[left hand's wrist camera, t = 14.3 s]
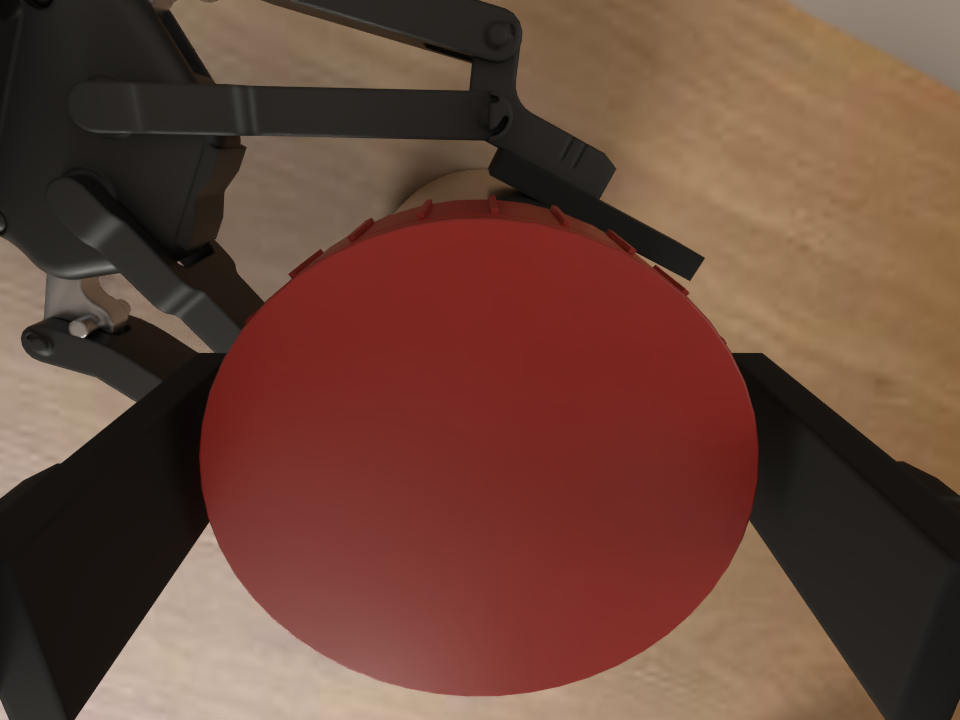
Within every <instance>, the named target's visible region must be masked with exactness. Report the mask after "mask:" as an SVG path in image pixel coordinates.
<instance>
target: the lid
mask: <svg viewBox="0 0 960 720" xmlns="http://www.w3.org/2000/svg"><path fill="white" fill-rule="evenodd" d="M636 251H637V250H635V249H634V248H633V247H632V246H631V245H629V244H628V243H627V242H626V241H624V240H623V239H622V238H621V237H619V236H618V235H617V234H616V233H614V232H613V231H611V230H610V229H608V231H607V232H606V233H605V232H603V231H601V230H599V229H598V228H596V227H594V226H593V225H590V224H588V223H586V222H583V221H581V220H578V219H576V218H573V217H571V216H569V215H566V214H564V213H563V212H562V211H561V210H560V209H559V208H558V207H557V206H554V205H552V206H551V209H546V208H542V207H539V206H535V205H531V204H527V203H519V202H510V201H501V200H496V197H495V195H489V199H486V200H454V201H447V202H441V203H434V204H433V203H432V199H429V200H426V201H425V202H424V204H423V205H422V206H419V207H415V208H412V209H409V210H405V211H402V212H398V213H395V214H392V215H389V216H387V217H384V218H382V219H380V220H378V221H376V222H374V221H373V219H372V218H370V219H368V220H366V221H365V222H364V223H363V224H362V225H360V226H359V227H358V228H357V229H356V230H354V231H353V232H352V233H351V234H350V235H348V236H347V237H346V238H344V239H342V240H341V241H339V242H338V243H336V244H335V245H333V246H331V247H330V248H329V249H328V250H326V251H325V252H323V251H322V250H321V249H320V250H319V251H317V252H316V253H315V254H313V255H312V256H311V257H310V258H308V259H307V260H306V261H305V262H303V263H302V264H301V265H299V266H298V267H297V268H296V269H294V270H293V271H292V272H291V273H289V276H290V277H291V278H292V279H291V280H290V281H289V282H288V283H287V284H285V285H284V286H283V287H282V288H281V289H280V290H278V291H277V292H276V293H275V294H274V295H273V296H272V297H270V298H269V299H268V300H267V301H266V302H265V303H264V304H263V305H262V307H260V308H259V309H258V310H257V311H256V312H254V313H253V314H252V315H251V316H249V317H248V318H247V320H246V321H245V323H246V325H245V326H244V327H243V329H242V330H241V332H240V333H239V335H238V336H237V338H236V340H235V341H234V343H233V344H232V346H231V348H230V349H229V351H228V353H227V354H226V356H225V357H224V359H223V361H222V363H221V366H220V368H219V370H218V373H217V375H216V378H215V380H214V382H213V385H212V387H211V389H210V392H209V396H208V400H207V404H206V409H205V413H204V417H203V421H202V427H201V440H200V452H199V462H200V475H201V488H202V493H203V497H204V501H205V506H206V510H207V514H208V519H209V521H210V524H211V526H212V529H213V531H214V534H215V537H216V539H217V542H218V544H219V547H220V549H221V550H222V552H223V554H224V556H225V558H226V559H227V561H228V563H229V565H230V567H231V568H232V570H233V572H234V574H235V575H236V576H237V578H238V579H239V580H240V582H241V583H242V584H243V586H244V587H245V588H246V590H247V591H248V592H249V594H250V595H251V596H252V598H253V599H254V600H255V601H256V602H257V603H258V604H259V605H260V606H261V607H262V608H263V609H264V610H265V611H266V612H267V613H268V614H269V616H270V617H271V618H272V619H273V620H275V621H276V622H277V623H278V624H279V625H281V626H282V627H283V628H284V629H285V630H287V631H288V632H289V633H290V634H292V635H293V636H294V637H295V638H296V639H298V640H299V641H301V642H302V643H304V644H305V645H307V646H309V647H310V648H312V649H313V650H315V651H316V652H318V653H319V654H321V655H322V656H324V657H326V658H328V659H330V660H332V661H334V662H336V663H338V664H340V665H342V666H344V667H346V668H348V669H350V670H353V671H355V672H358V673H360V674H363V675H365V676H368V677H371V678H373V679H376V680H378V681H382V682H386V683H389V684H393V685H396V686H400V687H404V688H407V689H413V690H418V691H424V692H430V693H435V694H445V695H457V696H503V695H513V694H522V693H530V692H535V691H540V690H545V689H550V688H555V687H560V686H563V685H566V684H569V683H573V682H576V681H579V680H582V679H586V678H589V677H591V676H594V675H596V674H598V673H601V672H603V671H605V670H608V669H610V668H613V667H615V666H617V665H619V664H621V663H623V662H625V661H626V660H628V659H630V658H632V657H634V656H635V655H637V654H639V653H641V652H643V651H644V650H646V649H647V648H649V647H650V646H652V645H653V644H654V643H656V642H657V641H659V640H660V639H662V638H663V637H664V636H666V635H667V634H669V633H670V632H671V631H672V630H673V629H674V628H676V627H677V626H678V625H679V624H680V623H681V622H682V621H683V620H685V619H686V618H687V617H688V616H689V615H690V614H691V613H692V612H693V611H694V610H695V609H696V608H697V607H698V606H699V604H700V603H701V602H702V601H703V600H704V599H705V598H706V597H707V595H708V594H709V593H710V592H711V591H712V590H713V588H714V587H715V585H716V584H717V582H718V581H719V579H720V578H721V576H722V575H723V574H724V572H725V571H726V569H727V568H728V566H729V564H730V562H731V560H732V559H733V557H734V555H735V553H736V551H737V549H738V547H739V545H740V543H741V541H742V539H743V536H744V533H745V530H746V527H747V524H748V521H749V518H750V515H751V512H752V509H753V504H754V498H755V493H756V487H757V482H758V462H759V444H758V436H757V428H756V420H755V414H754V410H753V407H752V403H751V400H750V397H749V393H748V390H747V386H746V383H745V381H744V379H743V376H742V374H741V372H740V370H739V368H738V366H737V364H736V362H735V360H734V358H733V355H732V353H731V351H730V350H729V348H728V347H727V345H726V344H727V343H726V342H725V340H724V339H723V338H722V337H721V336H720V335H719V334H718V332H717V331H716V329H715V328H714V326H713V325H712V323H711V322H710V321H709V320H708V319H707V317H706V316H705V315H704V314H703V313H702V312H701V311H700V310H699V309H698V308H697V307H696V306H695V305H694V304H693V303H692V301H691V300H690V299H689V298H688V297H687V295H688V294H689V292H688V291H687V290H686V289H685V288H684V287H683V286H681V285H680V284H679V283H678V282H676V281H675V280H674V279H673V278H671V277H670V276H669V275H668V274H666V273H665V272H664V271H663V270H661V269H660V268H659V267H658V266H656V265H655V266H654V267H651V266H650V265H649V264H648V263H646V262H645V261H644V260H643V259H641V258H640V257H639V256H638V255H636V254H635V252H636Z"/></svg>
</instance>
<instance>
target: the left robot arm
mask: <svg viewBox="0 0 960 720" xmlns="http://www.w3.org/2000/svg"><path fill="white" fill-rule="evenodd" d="M226 354H227V353H197V354H196V355H195V356H194V357H192V358H191V359H190V360H189V361H187V362H186V363H185V364H184V365H182V366H181V367H180V368H179V369H177V370H176V371H175V372H174V373H172V374H171V375H170V376H169V377H168V378H166V379H165V380H164V381H163V382H161V383H160V384H159V385H158V386H156V387H155V388H154V389H153V390H151V391H150V392H149V393H148V394H147V395H145V396H144V397H143V398H142V399H140V400H139V401H138V402H137V403H135V404H134V405H133V406H132V407H130V408H129V409H128V410H127V411H125V412H124V413H123V414H122V415H121V416H119V417H118V418H117V419H116V420H114V421H113V422H112V423H111V424H109V425H108V426H107V427H106V428H104V429H103V430H102V431H101V432H100V433H98V434H97V435H96V436H95V437H93V438H92V439H91V440H90V441H88V442H87V443H86V444H85V445H83V446H82V447H81V448H80V449H78V450H77V451H76V452H75V453H74V454H72V455H71V456H70V457H69V458H67V459H66V460H65V461H64V462H62V463H61V464H55V465H53V466H51V467H49V468H47V469H45V470H43V471H41V472H39V473H37V474H35V475H33V476H31V477H29V478H27V479H25V480H23V481H22V482H21V483H20V484H18V485H17V486H16V487H15V488H13V489H12V490H11V491H9V492H8V493H7V494H6V495H4V496H3V497H2V498H0V699H1V702H2V704H3V706H4V709H5V711H6V714H7V716H8V718H9V720H75V718H76V717H77V715H78V714H79V712H80V711H81V709H82V708H83V707H84V705H85V704H86V702H87V701H88V699H89V698H90V696H91V695H92V693H93V692H94V690H95V689H96V687H97V686H98V685H99V683H100V682H101V680H102V679H103V677H104V676H105V674H106V673H107V671H108V670H109V668H110V667H111V665H112V664H113V663H114V661H115V660H116V658H117V657H118V655H119V654H120V652H121V651H122V649H123V648H124V646H125V645H126V643H127V642H128V641H129V639H130V638H131V636H132V635H133V633H134V632H135V630H136V629H137V627H138V626H139V624H140V623H141V621H142V620H143V619H144V617H145V616H146V614H147V613H148V611H149V610H150V608H151V607H152V605H153V604H154V602H155V601H156V599H157V598H158V597H159V595H160V594H161V592H162V591H163V589H164V588H165V586H166V585H167V583H168V582H169V580H170V579H171V577H172V576H173V575H174V573H175V572H176V570H177V569H178V567H179V566H180V564H181V563H182V561H183V560H184V558H185V557H186V555H187V554H188V552H189V551H190V550H191V548H192V547H193V545H194V544H195V542H196V541H197V539H198V538H199V536H200V535H201V533H202V532H203V530H204V529H205V528H206V526H207V525H208V523H209V522H210V521H209V519H208V514H207V510H206V506H205V501H204V497H203V493H202V488H201V475H200V462H199V452H200V440H201V427H202V421H203V417H204V413H205V409H206V404H207V400H208V396H209V392H210V389H211V387H212V385H213V382H214V380H215V378H216V375H217V373H218V370H219V368H220V366H221V363H222V361H223V359H224V357H225V356H226ZM732 355H733V358H734V360H735V362H736V364H737V366H738V368H739V370H740V372H741V374H742V376H743V379H744V381H745V383H746V386H747V390H748V393H749V397H750V400H751V403H752V407H753V410H754V414H755V420H756V428H757V436H758V444H759V462H758V482H757V487H756V493H755V498H754V504H753V509H752V512H751V515H750V518H749V520H750V522H751V523H752V525H753V526H754V528H755V529H756V531H757V532H758V533H759V535H760V536H761V538H762V539H763V541H764V542H765V544H766V545H767V547H768V548H769V550H770V551H771V553H772V554H773V555H774V557H775V558H776V560H777V561H778V563H779V564H780V566H781V567H782V569H783V570H784V572H785V573H786V575H787V576H788V577H789V579H790V580H791V582H792V583H793V585H794V586H795V588H796V589H797V591H798V592H799V594H800V595H801V597H802V598H803V599H804V601H805V602H806V604H807V605H808V607H809V608H810V610H811V611H812V613H813V614H814V616H815V617H816V619H817V620H818V621H819V623H820V624H821V626H822V627H823V629H824V630H825V632H826V633H827V635H828V636H829V638H830V639H831V641H832V642H833V643H834V645H835V646H836V648H837V649H838V651H839V652H840V654H841V655H842V657H843V658H844V660H845V661H846V663H847V664H848V665H849V667H850V668H851V670H852V671H853V673H854V674H855V676H856V677H857V679H858V680H859V682H860V683H861V685H862V686H863V687H864V689H865V690H866V692H867V693H868V695H869V696H870V698H871V699H872V701H873V702H874V704H875V705H876V707H877V708H878V710H879V711H880V712H881V714H882V715H883V717H884V718H885V720H951V718H952V716H953V713H954V711H955V709H956V706H957V704H958V702H959V699H960V496H959V495H958V494H957V493H956V492H954V491H953V490H952V489H950V488H949V487H948V486H946V485H945V484H944V483H943V482H941V481H940V480H939V479H937V478H936V477H934V476H932V475H930V474H928V473H926V472H924V471H922V470H920V469H918V468H916V467H914V466H911V465H909V464H907V463H905V462H903V461H895V460H894V459H893V458H891V457H890V456H889V455H888V454H886V453H885V452H884V451H883V450H881V449H880V448H879V447H878V446H877V445H875V444H874V443H873V442H872V441H870V440H869V439H868V438H867V437H865V436H864V435H863V434H862V433H860V432H859V431H858V430H857V429H856V428H854V427H853V426H852V425H851V424H849V423H848V422H847V421H846V420H844V419H843V418H842V417H841V416H839V415H838V414H837V413H836V412H834V411H833V410H832V409H831V408H830V407H828V406H827V405H826V404H825V403H823V402H822V401H821V400H820V399H818V398H817V397H816V396H815V395H813V394H812V393H811V392H810V391H809V390H807V389H806V388H805V387H804V386H802V385H801V384H800V383H799V382H797V381H796V380H795V379H794V378H792V377H791V376H790V375H789V374H788V373H786V372H785V371H784V370H783V369H781V368H780V367H779V366H778V365H776V364H775V363H774V362H773V361H771V360H770V359H769V358H768V357H766V356H765V355H764V354H763V353H732Z"/></svg>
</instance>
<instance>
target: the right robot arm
mask: <svg viewBox="0 0 960 720" xmlns="http://www.w3.org/2000/svg"><path fill="white" fill-rule="evenodd" d="M175 1H177V0H0V236H1V237H3V238H5V239H7V240H8V241H9V242H11V243H12V244H14V245H15V246H16V247H17V248H19V249H20V250H21V251H22V252H23V253H24V254H25V255H26V256H27V257H28V258H29V259H30V260H31V261H32V262H33V263H34V264H35V265H36V266H37V267H38V268H40V269H41V270H43V271H44V272H46V273H47V279H46V295H45V311H44V319H43V321H40V322H38V323H36V324H34V325H31V326H29V327H27V328H26V329H25V330H24V331H23V333H22V336H21V342H22V346H23V348H24V349H25V351H26V352H27V353H28V354H29V355H30V356H31V357H32V358H34V359H36V360H38V361H41V362H44V363H48V364H51V365H55V366H58V367H62V368H65V369H69V370H72V371H76V372H79V373H83V374H86V375H90V376H93V377H96V378H98V379H100V380H101V381H103V382H105V383H106V384H108V385H109V386H111V387H113V388H114V389H116V390H118V391H119V392H121V393H123V394H124V395H126V396H127V397H129V398H131V399H132V400H134V401H136V402H138V401H139V400H140V399H142V398H143V397H144V396H145V395H147V394H148V393H149V392H150V391H151V390H153V389H154V388H155V387H156V386H158V385H159V384H160V383H161V382H163V381H164V380H165V379H166V378H168V377H169V376H170V375H171V374H172V373H174V372H175V371H176V370H177V369H179V368H180V367H181V366H182V365H184V364H185V363H186V362H187V361H189V360H190V359H191V358H192V357H194V356H195V355H196V354H197V352H196V351H194V350H193V349H191V348H190V347H188V346H187V345H185V344H183V343H182V342H180V341H179V340H177V339H176V338H174V337H173V336H171V335H170V334H168V333H167V332H165V331H163V330H161V329H160V328H158V327H156V326H155V325H153V324H150V323H148V322H146V321H144V320H142V319H139V318H136V317H134V316H131V315H129V313H130V311H131V308H130V305H129V304H128V303H127V302H126V301H125V300H122V299H118V300H117V299H115V298H113V297H111V296H110V295H108V294H107V293H106V292H105V291H104V290H103V289H102V287H101V286H100V283H99V280H98V276H104V275H110V274H116V273H121V274H122V275H123V276H124V277H125V278H126V279H127V280H128V281H129V282H130V283H131V284H132V285H133V286H134V287H135V288H136V289H137V290H138V291H139V292H140V293H141V294H142V295H143V296H144V297H145V298H146V299H147V300H148V301H149V302H150V303H151V304H153V305H154V306H155V307H156V308H157V309H159V310H160V311H162V312H164V313H167V314H172V315H175V316H177V317H179V318H180V319H181V320H182V321H183V322H184V323H185V324H186V325H187V326H188V327H189V328H190V329H191V330H192V331H193V332H194V333H195V334H196V335H197V336H198V337H199V338H200V339H201V340H202V341H203V342H204V343H205V344H206V345H207V346H208V347H209V348H210V349H211V350H212V351H213V352H214V353H228V351H229V349H230V348H231V346H232V344H233V343H234V341H235V340H236V338H237V336H238V335H239V333H240V332H241V330H242V329H243V327H244V326H245V325H246V323H245V321H246V320H247V318H248V317H249V316H251V315H252V314H253V313H254V312H256V311H257V310H258V309H259V308H260V307H262V305H263V304H264V303H265V302H264V301H263V300H262V299H261V298H260V297H259V296H258V295H257V294H256V293H255V292H254V291H253V290H252V289H251V288H250V286H249V285H248V284H247V283H246V282H245V281H244V280H243V279H242V278H241V277H240V276H239V275H238V273H237V271H236V266H235V263H234V261H233V260H232V258H231V257H230V256H229V255H228V254H227V252H226V251H225V250H224V249H223V248H222V247H221V246H220V245H219V244H218V243H217V242H216V241H215V240H214V239H216V237H217V234H218V231H219V228H220V225H221V222H222V219H223V209H224V192H225V189H226V188H227V186H228V185H229V184H230V182H231V181H232V179H233V178H234V177H235V175H236V174H237V172H238V171H239V168H240V165H241V162H242V159H243V156H244V153H245V150H246V147H245V146H243V145H241V144H240V141H241V139H240V136H299V137H345V138H391V139H436V140H482V141H486V142H488V143H490V144H492V145H494V146H495V147H497V148H498V149H497V151H496V153H495V155H494V157H493V159H492V162H491V164H490V166H489V168H488V170H489V175H490V176H492V177H494V178H496V179H498V180H500V181H502V182H503V183H505V184H507V185H509V186H511V187H513V188H515V189H517V190H519V191H520V192H522V193H524V194H526V195H528V196H530V197H532V198H534V199H536V200H538V201H539V202H541V203H543V204H545V205H547V206H549V207H551V206H552V205H554V206H557V207H558V208H559V209H560V210H561V211H562V212H563V213H564V214H566V215H569V216H571V217H573V218H576V219H578V220H581V221H583V222H586V223H588V224H590V225H593V226H594V227H596V228H598V229H599V230H601V231H603V232H605V233H606V232H607V231H608V229H610V230H611V231H613V232H614V233H616V234H617V235H618V236H619V237H621V238H622V239H623V240H624V241H626V242H627V243H628V244H629V245H631V246H632V247H633V248H634V249H635V250H637V251H636V253H638V254H640V255H642V256H644V257H645V258H647V259H649V260H651V261H653V262H655V263H657V264H659V265H661V266H663V267H664V268H666V269H668V270H670V271H672V272H674V273H676V274H678V275H680V276H681V277H683V278H685V279H687V280H689V281H690V280H691V279H692V277H693V276H694V274H695V273H696V271H697V269H698V268H699V266H700V265H701V263H702V262H703V260H704V259H705V258H704V257H702V256H701V255H699V254H697V253H696V252H694V251H692V250H691V249H689V248H687V247H686V246H684V245H682V244H681V243H679V242H677V241H675V240H674V239H672V238H670V237H668V236H666V235H664V234H662V233H661V232H659V231H657V230H655V229H653V228H651V227H649V226H648V225H646V224H644V223H642V222H640V221H638V220H636V219H635V218H633V217H631V216H629V215H627V214H625V213H623V212H622V211H620V210H618V209H616V208H614V207H612V206H610V205H609V204H607V203H605V202H603V201H601V200H599V199H600V197H601V195H602V193H603V192H604V190H605V188H606V186H607V184H608V183H609V181H610V179H611V177H612V176H613V174H614V172H615V170H616V168H615V166H614V165H613V164H612V163H611V161H610V160H609V159H608V157H607V156H606V155H605V153H603V152H601V151H599V150H597V149H596V148H594V147H592V146H590V145H588V144H586V143H585V142H583V141H581V140H579V139H578V138H576V137H574V136H572V135H570V134H569V133H567V132H565V131H563V130H561V129H560V128H558V127H556V126H554V125H552V124H551V123H549V122H547V121H545V120H543V119H542V118H540V117H538V116H536V115H534V114H533V113H531V112H529V111H528V110H527V109H525V107H524V106H523V105H522V104H521V102H520V100H519V98H518V96H517V91H516V75H517V67H518V59H519V51H520V44H521V41H522V29H521V25H520V21H519V20H518V19H517V17H516V16H515V15H514V13H512V12H510V11H509V10H507V9H505V8H502V7H499V6H495V5H492V4H489V3H486V2H482V1H479V0H262V1H265V2H268V3H271V4H273V5H277V6H280V7H283V8H287V9H290V10H294V11H297V12H300V13H304V14H307V15H310V16H314V17H317V18H320V19H324V20H327V21H331V22H334V23H337V24H341V25H344V26H347V27H351V28H354V29H358V30H361V31H364V32H368V33H371V34H374V35H378V36H381V37H384V38H388V39H391V40H395V41H398V42H401V43H405V44H408V45H411V46H415V47H418V48H422V49H425V50H428V51H432V52H435V53H438V54H442V55H445V56H448V57H452V58H455V59H459V60H462V61H465V62H469V63H472V69H471V79H470V89H469V91H453V90H409V89H364V88H320V87H275V86H246V85H230V84H215V82H214V80H213V79H212V77H211V76H210V74H209V72H208V71H207V69H206V68H205V66H204V64H203V63H202V61H201V59H200V58H199V56H198V55H197V53H196V51H195V50H194V48H193V47H192V45H191V43H190V42H189V40H188V38H187V37H186V35H185V34H184V32H183V30H182V29H181V27H180V26H179V24H178V22H177V21H176V19H175V18H174V16H173V14H172V13H171V11H170V10H169V9H170V8H171V6H172V4H173V3H174V2H175ZM200 1H203V2H210V3H212V2H215V1H218V0H200ZM178 261H180V262H181V263H182V264H183V265H184V266H182V265H180V264H178V263H177V262H178Z"/></svg>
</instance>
